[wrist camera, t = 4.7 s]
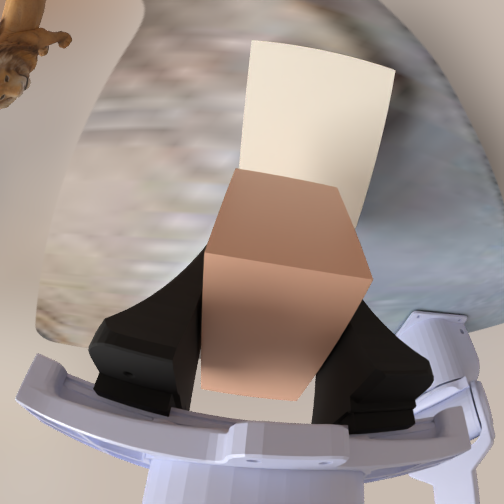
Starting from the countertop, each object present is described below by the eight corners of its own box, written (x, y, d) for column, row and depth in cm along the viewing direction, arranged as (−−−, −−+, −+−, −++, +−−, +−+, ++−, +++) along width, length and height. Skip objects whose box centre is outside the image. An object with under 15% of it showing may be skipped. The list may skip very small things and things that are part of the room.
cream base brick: (375, 69, 14) (395, 70, 12) (341, 219, 22) (350, 244, 19) (256, 45, 15) (251, 40, 12) (240, 204, 22) (234, 229, 19)
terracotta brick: (336, 187, 12) (373, 279, 7) (295, 309, 17) (296, 401, 12) (235, 168, 12) (204, 252, 7) (220, 297, 17) (201, 388, 12)
